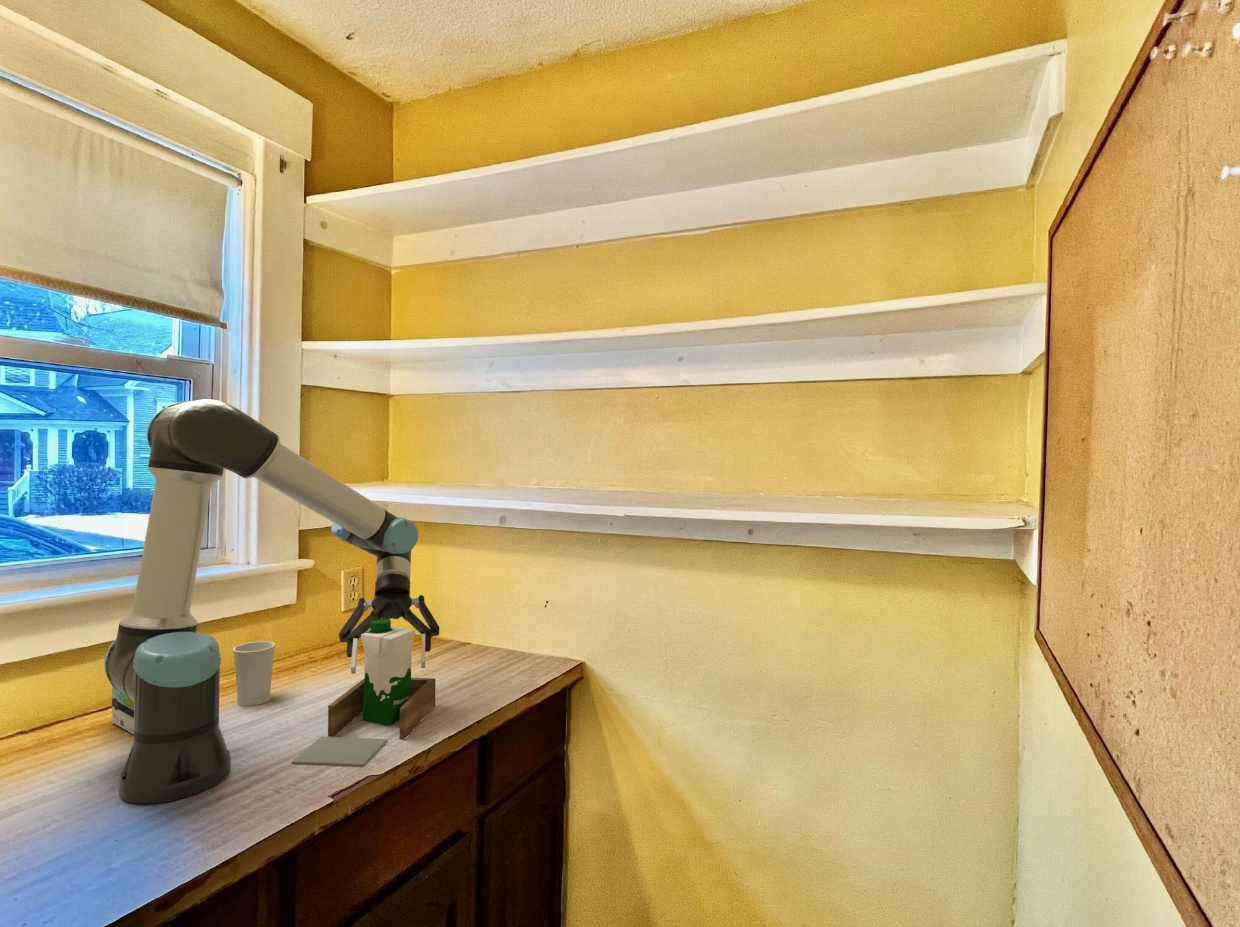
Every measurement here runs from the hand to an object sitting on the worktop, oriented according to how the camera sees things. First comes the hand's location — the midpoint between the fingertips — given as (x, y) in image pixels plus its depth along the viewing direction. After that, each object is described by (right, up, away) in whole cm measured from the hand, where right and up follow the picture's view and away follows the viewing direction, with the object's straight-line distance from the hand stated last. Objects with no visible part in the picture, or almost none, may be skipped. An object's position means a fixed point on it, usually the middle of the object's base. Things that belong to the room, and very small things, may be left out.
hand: (388, 667), depth 130 cm
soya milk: (-1, -11, +2) cm, 11 cm away
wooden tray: (-1, -11, 0) cm, 11 cm away
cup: (-33, -11, +10) cm, 36 cm away
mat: (-4, -11, -14) cm, 18 cm away
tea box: (-46, -11, -3) cm, 47 cm away
